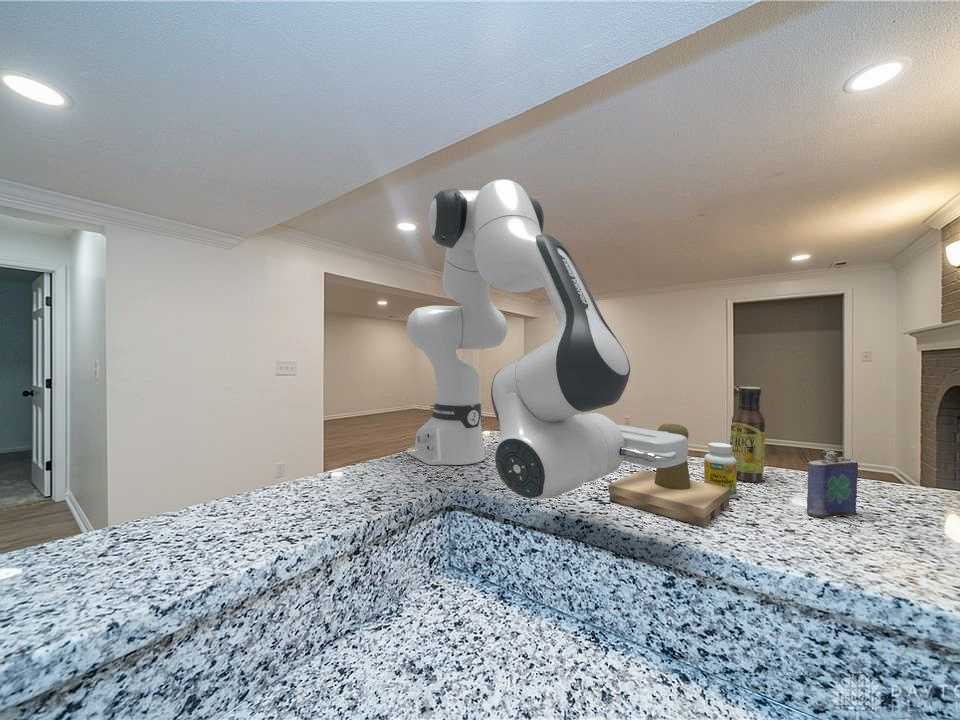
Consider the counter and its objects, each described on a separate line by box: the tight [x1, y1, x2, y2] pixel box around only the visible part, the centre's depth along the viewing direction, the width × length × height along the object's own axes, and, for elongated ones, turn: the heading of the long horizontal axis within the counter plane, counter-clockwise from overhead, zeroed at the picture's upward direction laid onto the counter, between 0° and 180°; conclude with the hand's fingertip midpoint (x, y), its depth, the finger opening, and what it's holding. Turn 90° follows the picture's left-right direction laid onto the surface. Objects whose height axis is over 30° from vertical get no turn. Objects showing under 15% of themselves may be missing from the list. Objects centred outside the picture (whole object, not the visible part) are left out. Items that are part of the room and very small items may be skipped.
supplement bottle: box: [703, 442, 737, 499], centre depth 78 cm, size 5×5×10 cm
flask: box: [806, 449, 859, 519], centre depth 69 cm, size 9×3×11 cm, turn 102°
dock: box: [607, 469, 730, 528], centre depth 74 cm, size 16×14×3 cm
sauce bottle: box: [729, 386, 766, 483], centre depth 88 cm, size 6×6×20 cm
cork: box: [654, 423, 691, 490], centre depth 75 cm, size 6×6×11 cm
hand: (635, 431), depth 67 cm, fingers open, 8 cm apart
